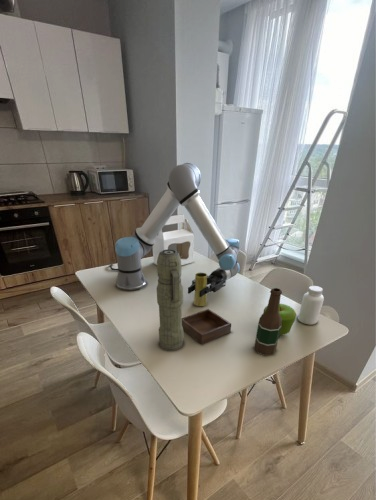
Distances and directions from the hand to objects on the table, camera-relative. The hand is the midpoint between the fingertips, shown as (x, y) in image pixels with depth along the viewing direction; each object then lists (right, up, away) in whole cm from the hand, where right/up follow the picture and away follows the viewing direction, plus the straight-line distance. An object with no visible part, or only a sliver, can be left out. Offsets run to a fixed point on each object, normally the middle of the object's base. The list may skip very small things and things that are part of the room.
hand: (194, 292), depth 127 cm
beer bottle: (+26, -24, -21) cm, 41 cm away
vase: (+3, -4, +8) cm, 9 cm away
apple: (+33, -18, -11) cm, 39 cm away
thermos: (-9, -22, -19) cm, 31 cm away
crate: (+4, -17, -11) cm, 20 cm away
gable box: (-12, +27, +54) cm, 61 cm away
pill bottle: (+49, -13, -3) cm, 50 cm away
